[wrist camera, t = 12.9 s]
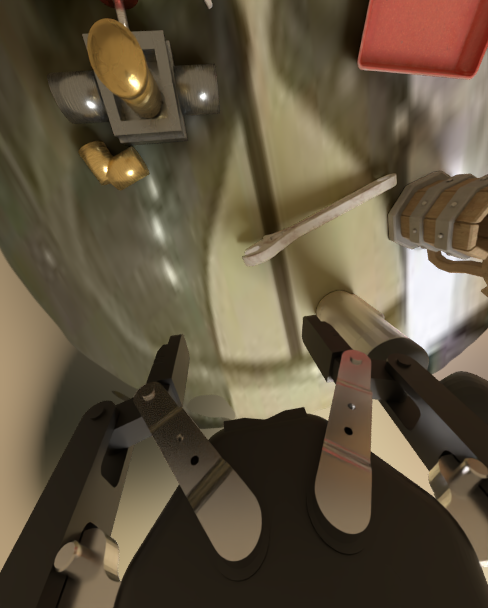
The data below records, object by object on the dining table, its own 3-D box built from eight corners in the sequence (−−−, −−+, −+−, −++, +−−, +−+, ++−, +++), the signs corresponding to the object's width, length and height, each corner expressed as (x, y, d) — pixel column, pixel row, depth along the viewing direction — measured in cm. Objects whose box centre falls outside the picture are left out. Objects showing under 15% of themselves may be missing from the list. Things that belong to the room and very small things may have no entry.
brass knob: (157, 66, 25) (134, 17, 18) (168, 119, 27) (152, 94, 20) (116, 68, 24) (76, 19, 17) (130, 122, 27) (101, 97, 20)
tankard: (385, 195, 37) (476, 196, 24) (453, 161, 36) (588, 144, 23) (391, 283, 47) (459, 317, 34) (445, 259, 46) (537, 285, 33)
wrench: (374, 186, 39) (239, 258, 39) (373, 175, 38) (235, 250, 38) (415, 181, 32) (249, 270, 32) (415, 169, 31) (245, 260, 31)
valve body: (205, -2, 24) (203, -47, 19) (221, 137, 30) (222, 128, 26) (36, 4, 23) (-8, -43, 18) (90, 148, 29) (67, 140, 24)
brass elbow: (152, 175, 31) (126, 132, 29) (145, 173, 28) (116, 125, 26) (115, 196, 32) (87, 156, 29) (105, 196, 29) (72, 152, 26)
